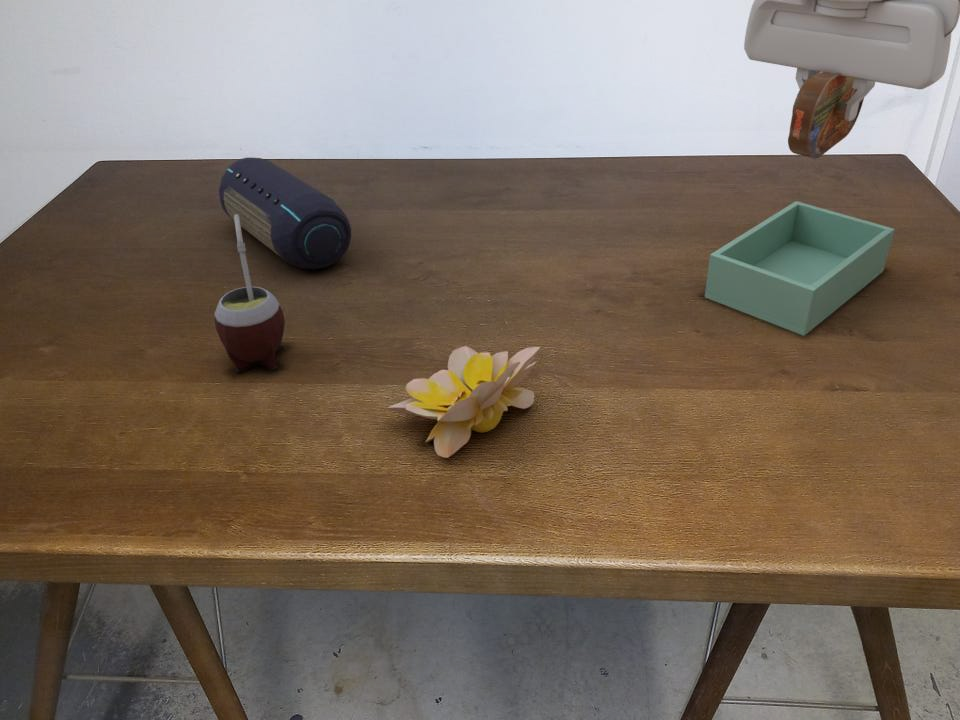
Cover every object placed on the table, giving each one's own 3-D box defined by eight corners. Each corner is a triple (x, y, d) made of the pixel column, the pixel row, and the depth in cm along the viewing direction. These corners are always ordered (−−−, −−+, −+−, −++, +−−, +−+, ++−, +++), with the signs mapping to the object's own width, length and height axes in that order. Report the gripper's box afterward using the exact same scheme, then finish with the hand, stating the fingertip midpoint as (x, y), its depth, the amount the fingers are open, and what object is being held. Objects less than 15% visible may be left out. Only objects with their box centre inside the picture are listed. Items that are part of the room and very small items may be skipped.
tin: (804, 169, 84) (824, 87, 79) (775, 161, 86) (793, 81, 81) (858, 128, 93) (880, 53, 88) (831, 122, 95) (851, 47, 90)
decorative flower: (487, 343, 87) (493, 273, 80) (561, 408, 82) (575, 339, 74) (372, 411, 80) (367, 341, 73) (445, 487, 75) (448, 419, 67)
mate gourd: (252, 387, 85) (220, 260, 77) (209, 361, 90) (174, 238, 81) (308, 355, 90) (283, 232, 81) (264, 332, 94) (236, 212, 86)
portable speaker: (218, 226, 119) (201, 160, 114) (280, 206, 124) (267, 142, 118) (296, 289, 102) (281, 216, 97) (364, 264, 107) (354, 193, 102)
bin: (788, 241, 107) (795, 200, 104) (883, 272, 100) (895, 228, 96) (704, 298, 96) (709, 254, 93) (803, 337, 89) (813, 290, 85)
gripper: (980, -21, 75) (939, 127, 83) (777, -39, 88) (758, 91, 95) (953, -9, 72) (913, 144, 79) (746, -30, 84) (728, 104, 92)
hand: (827, 115), depth 88 cm, fingers closed on tin, 3 cm apart
